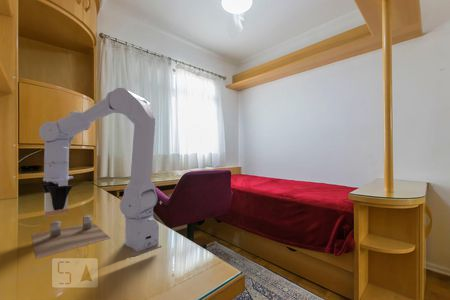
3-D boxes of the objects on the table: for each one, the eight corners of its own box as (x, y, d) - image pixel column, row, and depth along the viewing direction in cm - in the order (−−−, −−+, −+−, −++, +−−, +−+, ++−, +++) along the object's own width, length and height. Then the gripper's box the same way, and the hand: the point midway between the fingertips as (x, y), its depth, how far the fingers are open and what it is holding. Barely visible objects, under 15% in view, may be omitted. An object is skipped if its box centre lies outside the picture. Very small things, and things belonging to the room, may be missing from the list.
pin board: (110, 242, 59) (111, 224, 59) (35, 263, 47) (36, 241, 47) (92, 225, 72) (93, 211, 73) (31, 238, 61) (31, 221, 61)
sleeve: (67, 212, 61) (68, 193, 61) (45, 216, 57) (45, 195, 57) (65, 209, 64) (65, 190, 64) (43, 212, 60) (44, 193, 61)
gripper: (80, 163, 60) (80, 208, 59) (66, 161, 68) (65, 201, 68) (49, 163, 54) (48, 214, 54) (38, 162, 63) (37, 206, 63)
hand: (56, 207), depth 61 cm, fingers closed on sleeve, 5 cm apart
